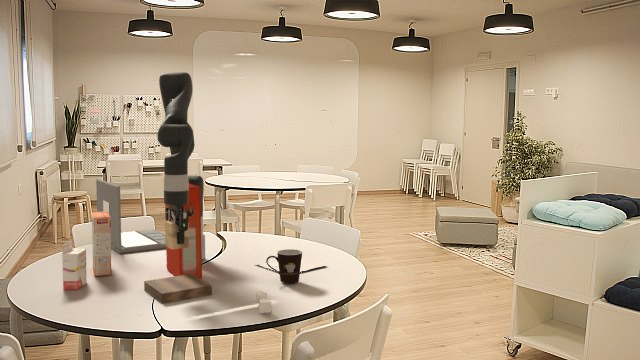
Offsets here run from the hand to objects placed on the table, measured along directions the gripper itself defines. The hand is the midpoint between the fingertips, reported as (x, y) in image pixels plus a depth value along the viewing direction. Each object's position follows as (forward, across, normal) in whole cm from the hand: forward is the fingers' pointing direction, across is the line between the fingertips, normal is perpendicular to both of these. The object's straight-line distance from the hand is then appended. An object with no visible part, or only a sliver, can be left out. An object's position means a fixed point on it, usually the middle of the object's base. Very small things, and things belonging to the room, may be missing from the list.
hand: (177, 241), depth 174 cm
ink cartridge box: (+16, +25, +25) cm, 39 cm away
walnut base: (+16, 0, 0) cm, 16 cm away
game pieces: (+17, -26, -16) cm, 35 cm away
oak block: (+2, 0, 0) cm, 2 cm away
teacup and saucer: (+17, +10, -49) cm, 53 cm away
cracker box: (+16, +39, +13) cm, 44 cm away
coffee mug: (+16, -7, -36) cm, 40 cm away
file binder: (+16, +20, -10) cm, 28 cm away
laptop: (+17, +79, -12) cm, 81 cm away
